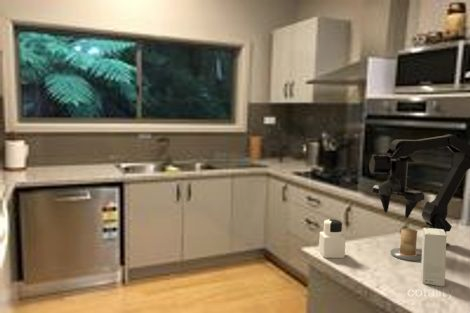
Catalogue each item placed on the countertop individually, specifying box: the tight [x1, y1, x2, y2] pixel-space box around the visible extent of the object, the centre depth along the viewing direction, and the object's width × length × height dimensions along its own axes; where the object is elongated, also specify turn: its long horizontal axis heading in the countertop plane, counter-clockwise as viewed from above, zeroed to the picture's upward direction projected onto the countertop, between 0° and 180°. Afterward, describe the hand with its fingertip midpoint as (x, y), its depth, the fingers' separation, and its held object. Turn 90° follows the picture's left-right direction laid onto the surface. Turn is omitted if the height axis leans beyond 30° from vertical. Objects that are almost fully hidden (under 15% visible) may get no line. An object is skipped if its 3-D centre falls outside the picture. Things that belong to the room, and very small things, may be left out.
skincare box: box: [420, 227, 448, 288], centre depth 119 cm, size 8×6×15 cm
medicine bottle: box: [318, 218, 346, 259], centre depth 139 cm, size 7×7×12 cm
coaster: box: [390, 247, 422, 262], centre depth 140 cm, size 11×11×1 cm
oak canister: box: [399, 227, 418, 256], centre depth 140 cm, size 5×5×8 cm
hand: (396, 215), depth 152 cm, fingers open, 9 cm apart
